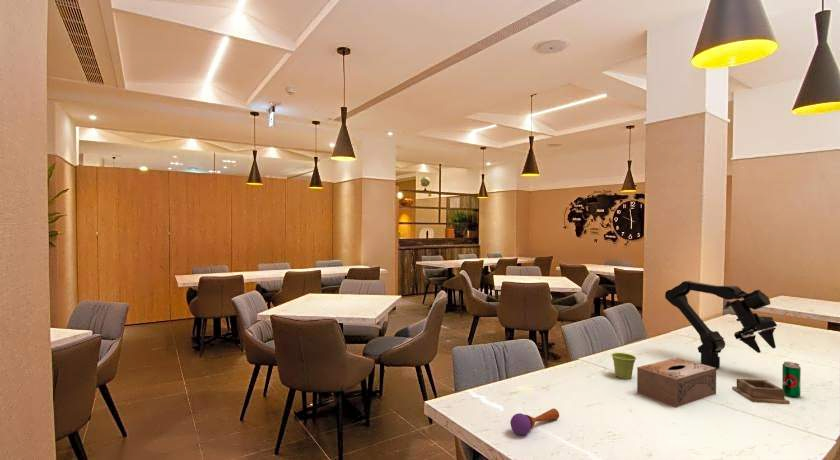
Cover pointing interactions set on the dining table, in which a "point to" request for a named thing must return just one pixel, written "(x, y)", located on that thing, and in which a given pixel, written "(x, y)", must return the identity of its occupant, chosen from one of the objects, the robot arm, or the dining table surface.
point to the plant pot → (623, 364)
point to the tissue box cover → (676, 381)
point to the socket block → (760, 391)
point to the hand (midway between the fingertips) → (766, 350)
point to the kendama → (530, 421)
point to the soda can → (791, 379)
